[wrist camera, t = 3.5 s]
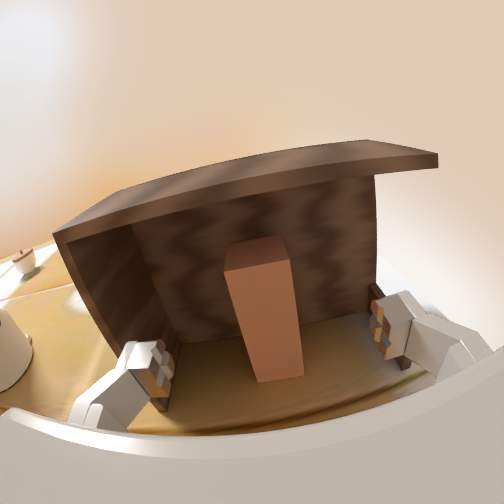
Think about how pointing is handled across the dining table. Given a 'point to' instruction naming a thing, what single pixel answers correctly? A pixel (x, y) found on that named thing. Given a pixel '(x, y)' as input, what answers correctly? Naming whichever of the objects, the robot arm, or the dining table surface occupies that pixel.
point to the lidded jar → (25, 261)
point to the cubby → (232, 241)
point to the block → (265, 306)
